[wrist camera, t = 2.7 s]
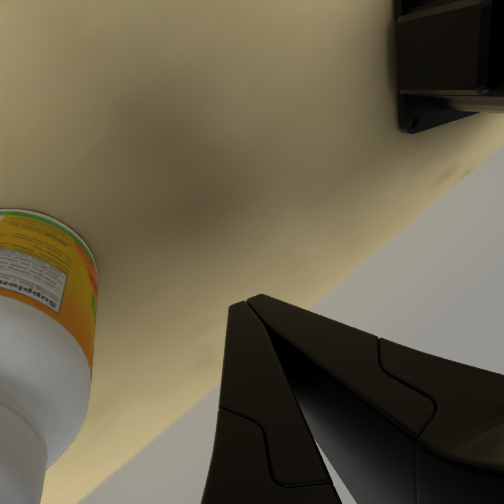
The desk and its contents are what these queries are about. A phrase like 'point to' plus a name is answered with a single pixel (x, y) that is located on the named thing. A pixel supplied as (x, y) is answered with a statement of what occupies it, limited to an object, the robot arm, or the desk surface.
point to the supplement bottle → (42, 347)
